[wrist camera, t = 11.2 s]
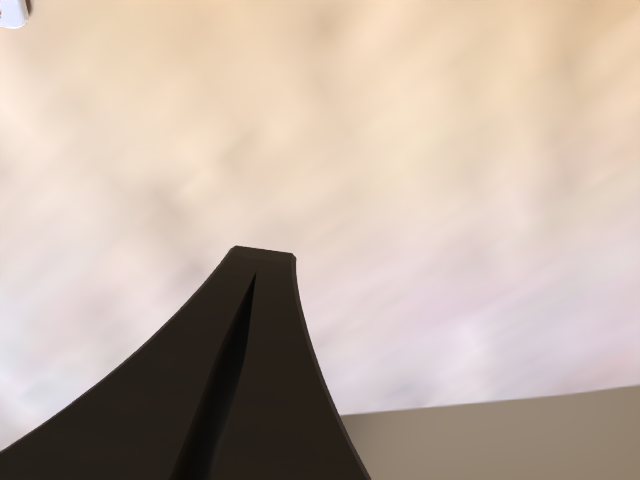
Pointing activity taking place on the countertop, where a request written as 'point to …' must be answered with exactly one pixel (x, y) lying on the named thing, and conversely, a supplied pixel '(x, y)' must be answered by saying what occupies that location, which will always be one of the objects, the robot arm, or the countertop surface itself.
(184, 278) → the countertop surface
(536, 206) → the countertop surface
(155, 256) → the countertop surface
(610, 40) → the countertop surface
